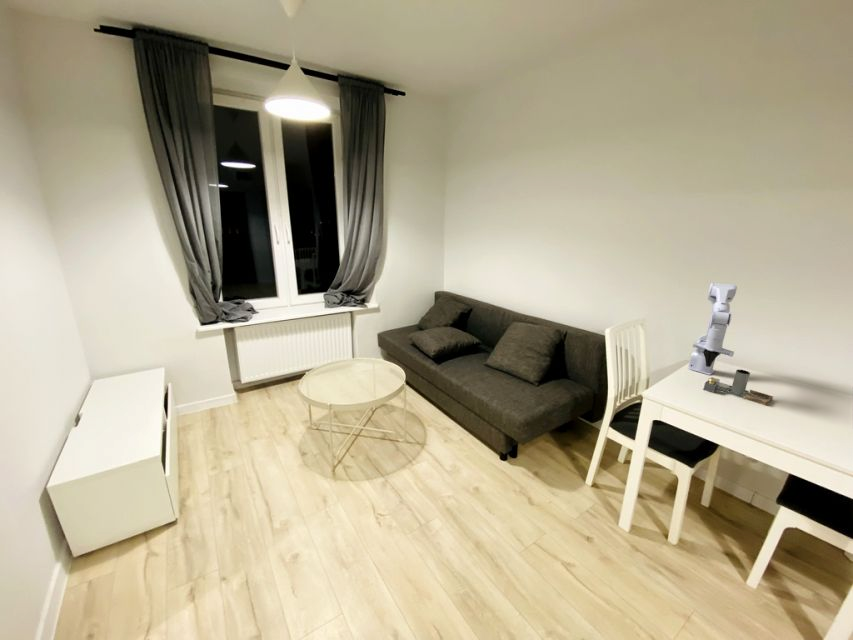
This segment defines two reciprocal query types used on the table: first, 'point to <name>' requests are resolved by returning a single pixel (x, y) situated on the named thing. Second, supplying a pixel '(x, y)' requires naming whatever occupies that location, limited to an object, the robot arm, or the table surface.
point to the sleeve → (732, 392)
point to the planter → (740, 382)
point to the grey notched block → (722, 385)
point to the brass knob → (712, 381)
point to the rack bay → (759, 399)
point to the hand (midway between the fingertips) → (708, 366)
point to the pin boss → (710, 387)
